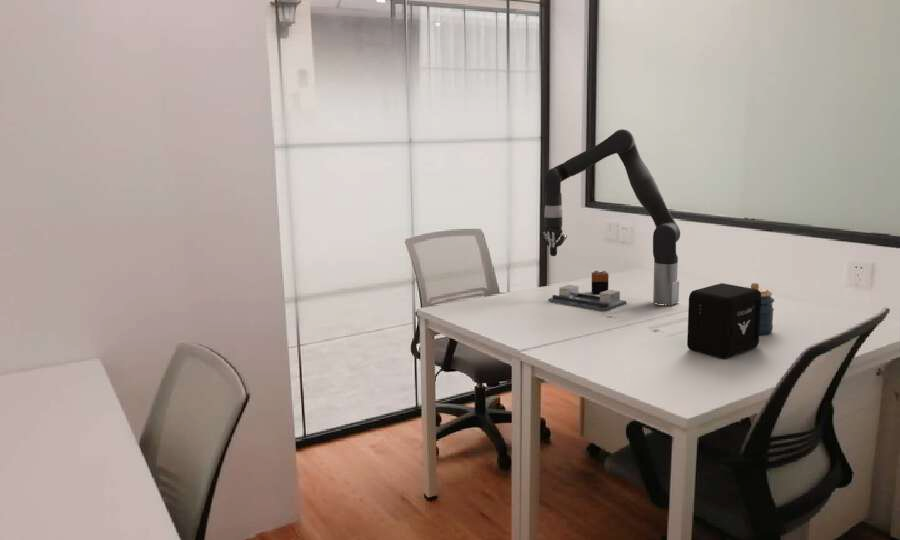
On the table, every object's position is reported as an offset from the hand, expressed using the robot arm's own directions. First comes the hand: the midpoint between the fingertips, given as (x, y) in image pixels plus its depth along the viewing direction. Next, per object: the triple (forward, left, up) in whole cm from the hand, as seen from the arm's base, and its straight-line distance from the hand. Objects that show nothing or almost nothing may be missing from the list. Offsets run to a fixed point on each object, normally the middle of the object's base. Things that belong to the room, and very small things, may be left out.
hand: (553, 255), depth 311 cm
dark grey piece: (-17, 0, -18) cm, 25 cm away
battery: (-12, -18, -19) cm, 29 cm away
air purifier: (-87, +26, -19) cm, 93 cm away
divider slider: (-8, +2, -17) cm, 19 cm away
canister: (-86, 0, -19) cm, 88 cm away
